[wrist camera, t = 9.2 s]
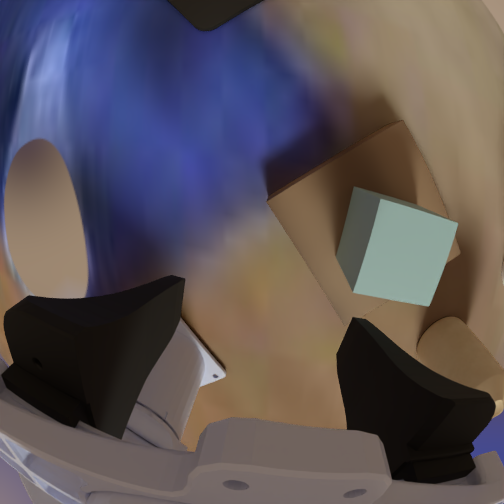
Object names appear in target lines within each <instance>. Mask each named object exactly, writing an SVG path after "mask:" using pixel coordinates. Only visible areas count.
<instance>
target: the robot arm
mask: <svg viewBox="0 0 504 504" xmlns="http://www.w3.org/2000/svg"><path fill="white" fill-rule="evenodd" d="M184 285H185V278H181V277H177V276H173V275H170V276H166V277H163V278H161V279H158V280H155V281H153V282H150V283H147V284H144V285H142V286H139V287H135V288H132V289H129V290H126V291H123V292H119V293H115V294H110V295H104V296H98V297H89V298H77V299H59V298H46V297H37V296H30V295H29V296H27V297H26V298H24V299H23V300H21V301H20V302H19V303H17V304H16V305H14V306H13V307H12V308H10V309H9V310H8V311H6V313H5V316H4V331H5V336H6V339H7V343H8V346H9V349H10V352H11V356H12V359H13V362H14V363H13V364H12V365H11V366H10V367H9V368H8V366H7V365H6V364H5V363H4V361H2V359H0V457H1V458H2V459H3V460H5V461H6V462H7V463H8V464H9V465H10V466H12V467H13V468H14V469H15V470H16V471H18V472H19V476H20V478H21V480H22V483H23V485H24V487H25V489H26V491H27V493H28V495H29V497H30V499H31V500H32V502H33V504H503V503H504V467H503V464H502V462H501V460H500V458H499V456H498V454H497V452H496V451H492V452H488V453H484V454H481V455H478V456H476V457H475V458H473V459H472V456H471V454H470V453H471V452H473V451H474V446H473V444H472V442H473V441H474V440H475V439H476V438H477V436H478V435H479V434H480V433H481V432H482V431H483V430H484V428H485V427H486V426H487V425H488V423H489V422H490V421H491V419H492V417H493V415H494V413H495V409H496V404H495V402H494V400H493V398H492V397H491V395H490V394H489V393H488V392H485V391H481V390H478V389H474V388H471V387H468V386H465V385H462V384H460V383H457V382H455V381H452V380H450V379H448V378H446V377H444V376H442V375H440V374H438V373H436V372H434V371H433V370H431V369H429V368H428V367H426V366H424V365H423V364H421V363H420V362H418V361H417V360H415V359H414V358H413V357H411V356H410V355H409V354H407V353H406V352H405V351H404V350H402V349H401V348H400V347H399V346H397V345H396V344H395V343H394V342H393V341H392V340H390V339H389V338H388V337H387V336H386V335H385V334H384V333H382V332H381V331H380V330H379V329H378V328H377V327H375V326H374V325H373V324H372V323H370V322H369V321H367V320H366V319H362V318H356V317H352V320H351V322H350V325H349V327H348V329H347V332H346V334H345V336H344V339H343V341H342V343H341V345H340V348H339V350H338V352H337V354H336V356H337V374H338V379H339V384H340V389H341V394H342V398H343V403H344V408H345V413H346V421H347V430H342V429H329V428H318V427H309V426H301V425H293V424H286V423H280V422H273V421H267V420H262V419H256V418H235V417H232V418H228V419H224V420H221V421H217V422H214V423H210V424H208V426H207V427H206V428H205V429H204V431H203V432H202V433H201V434H200V437H199V441H198V444H197V448H196V451H195V452H188V451H187V446H185V445H183V444H182V443H181V442H180V441H181V438H182V435H183V432H184V429H185V427H186V424H187V421H188V418H189V415H190V412H191V410H192V407H193V404H194V401H195V398H196V395H197V393H198V390H199V387H201V386H203V385H206V384H209V383H211V382H214V381H217V380H219V379H222V378H224V377H225V376H226V371H225V369H224V368H223V367H222V366H221V365H220V364H219V363H218V361H217V360H216V359H215V358H214V357H213V356H212V355H211V353H210V352H209V351H208V350H207V349H206V348H205V346H204V345H203V344H202V343H201V342H200V340H199V339H198V338H197V337H196V336H195V334H194V333H193V332H192V331H191V330H190V328H189V327H188V326H187V325H186V323H185V322H184V321H183V320H182V318H181V309H182V301H183V293H184ZM214 374H217V375H218V376H216V375H214Z"/></svg>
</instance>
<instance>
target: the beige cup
mask: <svg viewBox="0 0 504 504" xmlns="http://www.w3.org/2000/svg"><path fill="white" fill-rule="evenodd" d="M501 275H502V281H503V285H504V261H503V265H502V274H501Z"/></svg>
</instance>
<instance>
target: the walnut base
mask: <svg viewBox="0 0 504 504" xmlns="http://www.w3.org/2000/svg"><path fill="white" fill-rule="evenodd" d="M354 187H358V188H362V189H365V190H369V191H373V192H376V193H380V194H383V195H387V196H390V197H393V198H397V199H400V200H403V201H407V202H410V203H413V204H416V205H419V206H421V207H424V208H426V209H428V210H430V211H433V212H435V213H437V214H439V215H442V216H444V217H446V218H448V219H449V217H448V215H447V212H446V209H445V207H444V204H443V202H442V199H441V197H440V194H439V192H438V189H437V187H436V185H435V183H434V180H433V178H432V176H431V174H430V171H429V169H428V167H427V165H426V163H425V161H424V159H423V157H422V155H421V153H420V151H419V149H418V147H417V145H416V143H415V141H414V139H413V137H412V135H411V133H410V132H409V130H408V128H407V126H406V124H405V123H404V121H403V120H401V121H397V122H394V123H390V124H388V125H386V126H384V127H383V128H381V129H379V130H377V131H376V132H374V133H372V134H370V135H369V136H367V137H365V138H363V139H362V140H360V141H358V142H357V143H355V144H353V145H352V146H350V147H348V148H346V149H345V150H343V151H341V152H340V153H338V154H336V155H335V156H333V157H331V158H330V159H328V160H326V161H325V162H323V163H321V164H320V165H318V166H316V167H315V168H313V169H312V170H310V171H308V172H307V173H305V174H303V175H302V176H300V177H299V178H297V179H295V180H294V181H292V182H290V183H289V184H287V185H286V186H284V187H282V188H281V189H279V190H278V191H276V192H275V193H273V194H271V195H270V196H268V199H267V204H268V205H269V207H270V208H271V210H272V211H273V213H274V214H275V216H276V217H277V219H278V220H279V222H280V223H281V225H282V227H283V228H284V230H285V231H286V233H287V234H288V236H289V237H290V239H291V241H292V242H293V244H294V245H295V247H296V248H297V250H298V252H299V253H300V255H301V256H302V258H303V259H304V261H305V263H306V264H307V266H308V267H309V269H310V271H311V272H312V274H313V275H314V277H315V279H316V280H317V282H318V284H319V285H320V287H321V288H322V290H323V292H324V293H325V295H326V297H327V298H328V300H329V301H330V303H331V305H332V306H333V308H334V310H335V311H336V313H337V315H338V316H339V318H340V320H341V321H342V323H343V325H344V326H346V325H347V324H349V323H350V322H351V320H352V317H356V318H360V317H362V316H364V315H365V314H367V313H369V312H371V311H372V310H374V309H376V308H378V307H379V306H381V305H383V304H384V303H386V302H388V301H389V299H384V298H378V297H373V296H368V295H362V294H357V293H353V292H352V290H351V288H350V286H349V284H348V281H347V279H346V277H345V275H344V273H343V271H342V269H341V267H340V265H339V263H338V261H337V259H336V254H337V251H338V247H339V243H340V240H341V236H342V232H343V228H344V225H345V221H346V217H347V213H348V209H349V205H350V201H351V196H352V192H353V188H354ZM459 254H461V253H460V250H459V246H458V243H457V240H456V237H454V240H453V243H452V246H451V249H450V252H449V255H448V258H447V261H446V264H447V263H448V262H449V261H451V260H452V259H454V258H455V257H456V256H458V255H459Z"/></svg>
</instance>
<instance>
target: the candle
mask: <svg viewBox="0 0 504 504" xmlns="http://www.w3.org/2000/svg"><path fill="white" fill-rule="evenodd" d="M417 356H418V359H419V361H420V363H421V364H423V365H424V366H426V367H428V368H429V369H431V370H433V371H434V372H436V373H438V374H440V375H442V376H444V377H446V378H448V379H450V380H452V381H455V382H457V383H460V384H462V385H465V386H468V387H471V388H474V389H478V390H481V391H485V392H488V393H489V394H490V395H491V397H492V398H493V400H494V402H495V404H496V409H495V413H494V415H493V417H495V416H497V415H499V414H501V412H502V411H503V408H504V370H503V368H502V367H501V366H500V364H499V363H498V362H497V361H496V359H495V358H494V357H493V356H492V354H491V353H490V352H489V351H488V350H487V348H486V347H485V346H484V345H483V344H482V342H481V341H480V340H479V339H478V338H477V337H476V335H475V334H474V333H473V332H472V331H471V330H470V328H469V327H468V326H467V325H466V324H465V323H464V322H463V321H462V320H460V319H459V318H457V317H445V318H442V319H440V320H438V321H437V322H435V323H434V324H432V325H431V326H430V327H429V328H428V329H427V330H426V331H425V332H424V334H423V335H422V337H421V339H420V341H419V343H418V346H417ZM493 417H492V418H493Z"/></svg>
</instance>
